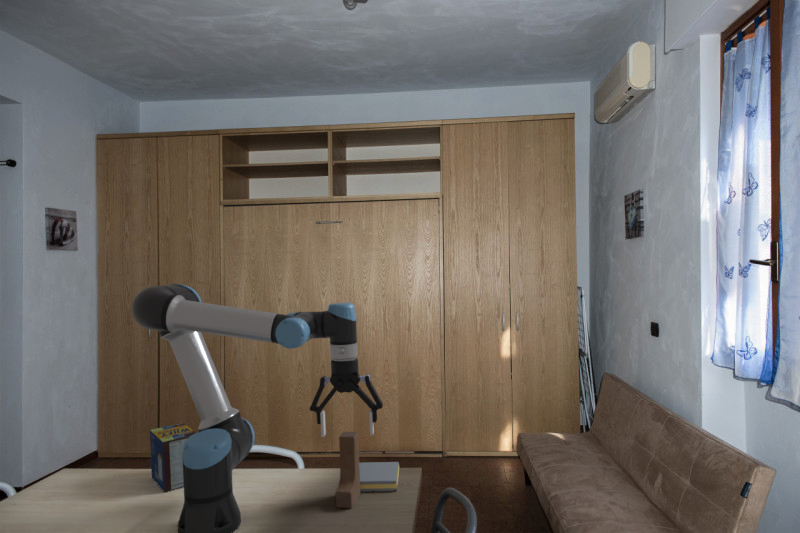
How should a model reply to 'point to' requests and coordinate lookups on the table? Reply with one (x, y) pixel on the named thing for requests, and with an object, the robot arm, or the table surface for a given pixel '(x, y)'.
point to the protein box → (168, 455)
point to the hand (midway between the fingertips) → (347, 434)
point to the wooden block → (348, 470)
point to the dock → (378, 476)
